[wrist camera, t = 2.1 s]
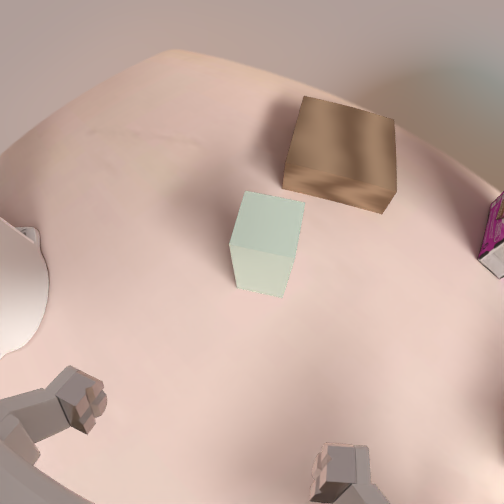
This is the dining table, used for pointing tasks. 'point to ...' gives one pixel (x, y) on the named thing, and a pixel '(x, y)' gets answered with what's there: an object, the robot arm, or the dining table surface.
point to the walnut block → (342, 155)
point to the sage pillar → (265, 242)
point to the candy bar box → (494, 239)
